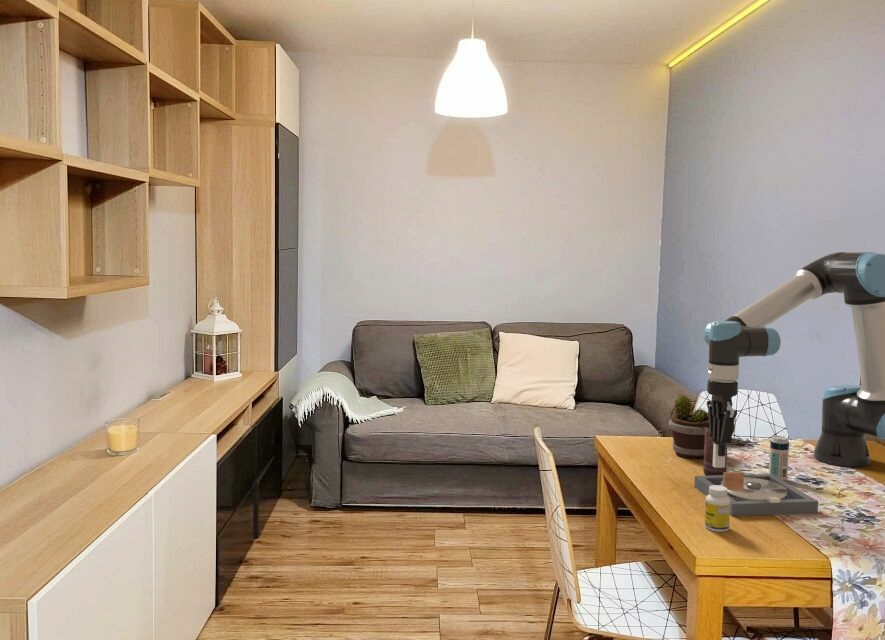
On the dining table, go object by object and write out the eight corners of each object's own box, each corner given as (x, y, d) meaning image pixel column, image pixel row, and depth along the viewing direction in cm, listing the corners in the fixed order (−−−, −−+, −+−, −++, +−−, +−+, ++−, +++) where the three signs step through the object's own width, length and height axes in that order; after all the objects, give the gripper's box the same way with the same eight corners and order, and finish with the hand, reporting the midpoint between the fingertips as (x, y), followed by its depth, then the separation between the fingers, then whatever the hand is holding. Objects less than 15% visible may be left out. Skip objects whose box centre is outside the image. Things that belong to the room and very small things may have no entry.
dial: (766, 483, 203) (767, 462, 202) (799, 504, 187) (800, 481, 186) (710, 485, 202) (710, 463, 201) (738, 506, 186) (738, 482, 185)
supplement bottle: (700, 524, 178) (702, 484, 177) (722, 523, 178) (724, 483, 177) (710, 533, 172) (712, 491, 171) (733, 532, 173) (734, 491, 172)
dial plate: (771, 484, 206) (772, 470, 206) (817, 513, 184) (818, 498, 184) (694, 486, 205) (694, 473, 204) (731, 516, 183) (732, 501, 182)
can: (728, 479, 211) (730, 430, 209) (705, 477, 212) (706, 429, 210) (725, 472, 217) (727, 425, 215) (702, 471, 218) (703, 424, 216)
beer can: (787, 477, 212) (789, 436, 210) (787, 482, 207) (789, 440, 206) (768, 475, 214) (770, 434, 212) (768, 480, 209) (770, 438, 208)
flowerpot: (721, 451, 238) (723, 390, 236) (710, 464, 225) (712, 399, 223) (675, 445, 246) (677, 385, 243) (661, 456, 233) (663, 393, 231)
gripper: (698, 375, 203) (694, 459, 205) (720, 384, 190) (715, 474, 192) (725, 375, 203) (721, 459, 206) (748, 384, 191) (743, 474, 193)
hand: (718, 466), depth 199 cm, fingers closed
